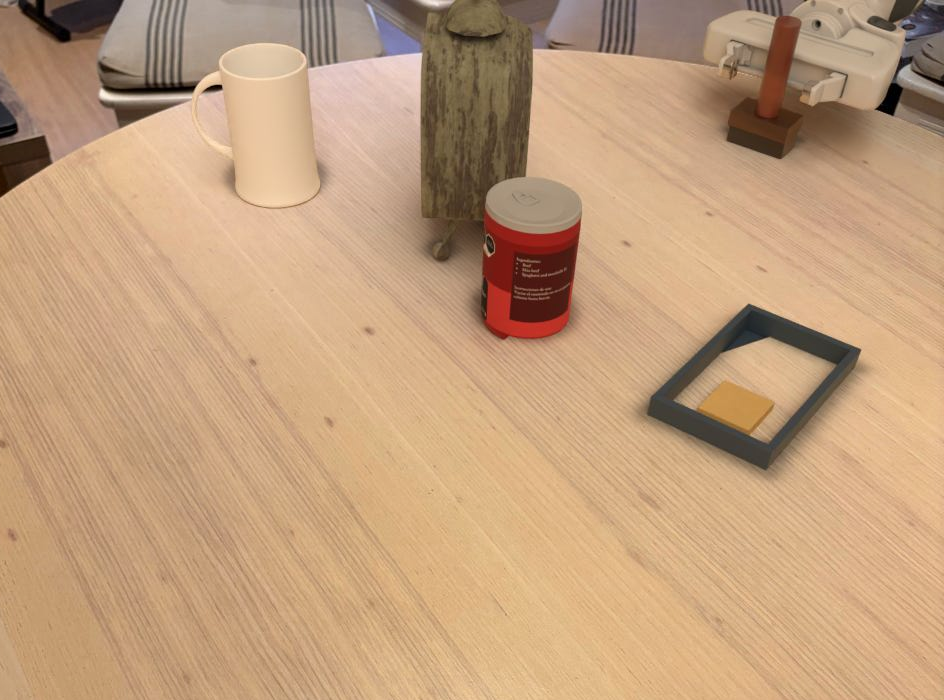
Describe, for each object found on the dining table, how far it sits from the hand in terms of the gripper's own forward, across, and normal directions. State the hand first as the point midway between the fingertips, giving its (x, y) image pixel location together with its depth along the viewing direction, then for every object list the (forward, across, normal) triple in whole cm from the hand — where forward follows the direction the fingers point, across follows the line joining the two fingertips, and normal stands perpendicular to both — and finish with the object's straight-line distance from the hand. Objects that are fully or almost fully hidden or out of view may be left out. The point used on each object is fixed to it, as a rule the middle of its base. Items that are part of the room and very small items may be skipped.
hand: (765, 83), depth 104 cm
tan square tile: (+41, +20, +7) cm, 46 cm away
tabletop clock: (+31, -14, +8) cm, 35 cm away
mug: (+38, -35, +8) cm, 52 cm away
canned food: (+40, -1, +8) cm, 41 cm away
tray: (+38, +20, +7) cm, 43 cm away
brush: (-3, 0, +7) cm, 8 cm away
